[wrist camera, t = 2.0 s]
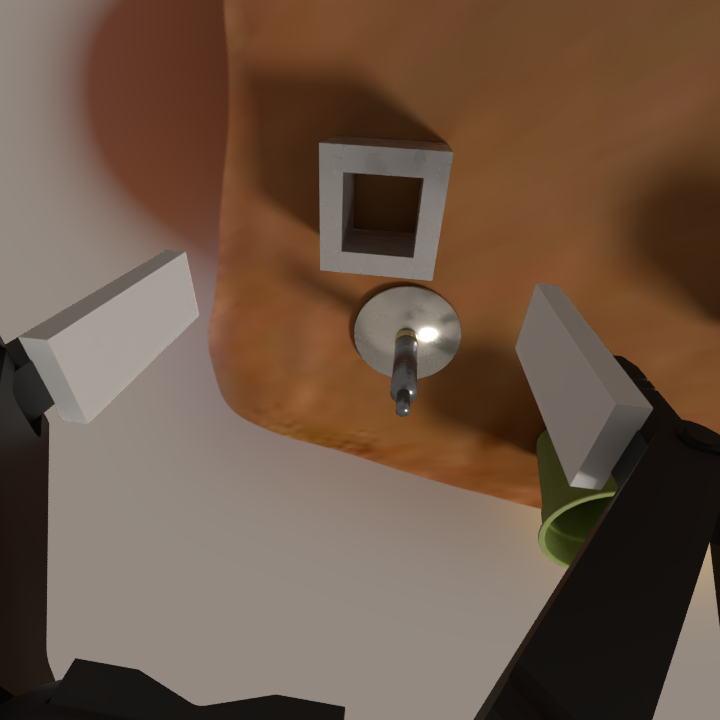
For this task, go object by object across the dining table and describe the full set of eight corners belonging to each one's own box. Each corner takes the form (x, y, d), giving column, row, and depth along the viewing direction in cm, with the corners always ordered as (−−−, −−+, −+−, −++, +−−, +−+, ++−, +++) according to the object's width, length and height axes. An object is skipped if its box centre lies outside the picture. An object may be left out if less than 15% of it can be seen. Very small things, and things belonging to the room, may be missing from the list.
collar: (336, 135, 28) (318, 142, 23) (447, 142, 27) (453, 152, 22) (335, 244, 32) (320, 270, 27) (429, 252, 32) (432, 280, 27)
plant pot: (657, 409, 37) (735, 510, 28) (599, 484, 44) (647, 586, 35) (537, 388, 38) (575, 481, 29) (497, 466, 45) (518, 561, 35)
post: (357, 279, 34) (334, 344, 25) (470, 291, 33) (490, 362, 24) (352, 370, 39) (333, 450, 30) (449, 381, 39) (459, 467, 30)
